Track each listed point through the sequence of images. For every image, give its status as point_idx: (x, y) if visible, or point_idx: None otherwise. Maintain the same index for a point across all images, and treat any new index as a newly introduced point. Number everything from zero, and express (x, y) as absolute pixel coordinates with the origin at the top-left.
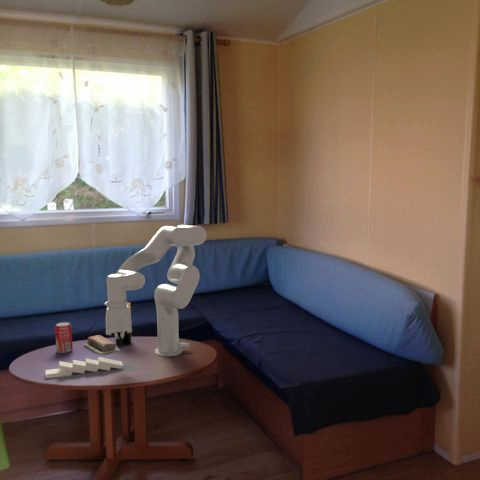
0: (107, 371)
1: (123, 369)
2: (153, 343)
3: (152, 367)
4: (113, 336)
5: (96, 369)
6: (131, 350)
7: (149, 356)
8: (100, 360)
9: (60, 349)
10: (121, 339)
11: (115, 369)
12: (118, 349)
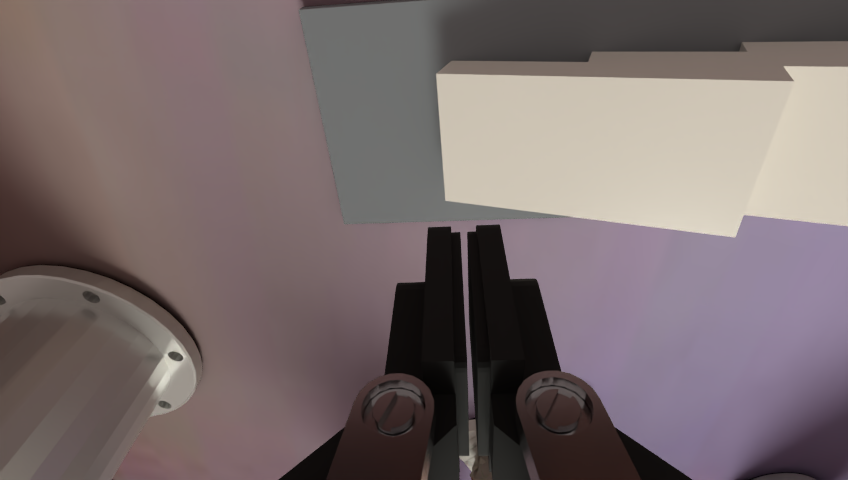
0: (621, 33)
1: (435, 49)
2: (244, 466)
3: (134, 66)
4: (651, 458)
5: (766, 50)
6: None
7: (228, 312)
8: (756, 112)
9: None
10: (428, 344)
11: None
12: None
